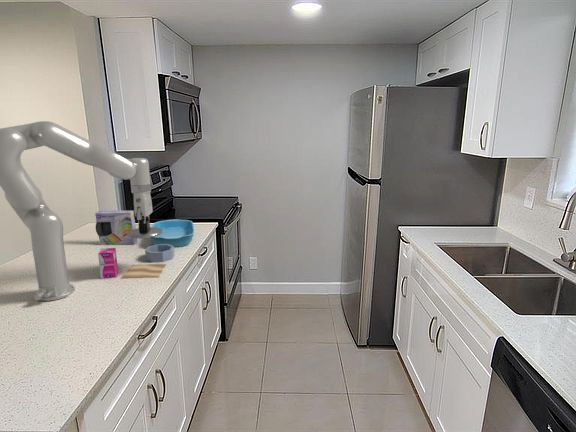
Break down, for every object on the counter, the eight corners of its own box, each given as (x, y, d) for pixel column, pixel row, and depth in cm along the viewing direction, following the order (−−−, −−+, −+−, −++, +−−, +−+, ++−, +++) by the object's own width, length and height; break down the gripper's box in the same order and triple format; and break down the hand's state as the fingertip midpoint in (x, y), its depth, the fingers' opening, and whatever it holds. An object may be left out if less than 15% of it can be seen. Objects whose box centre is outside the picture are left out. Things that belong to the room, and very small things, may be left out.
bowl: (171, 262, 168) (170, 252, 166) (143, 263, 166) (142, 252, 165) (175, 253, 179) (175, 244, 178) (150, 254, 178) (149, 244, 177)
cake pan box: (97, 245, 190) (93, 212, 186) (101, 242, 195) (97, 209, 191) (134, 245, 191) (131, 212, 186) (138, 242, 196) (135, 210, 191)
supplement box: (100, 279, 148) (97, 253, 145) (103, 274, 154) (100, 248, 151) (116, 278, 150) (113, 252, 147) (118, 273, 155) (115, 247, 152)
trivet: (158, 278, 150) (158, 277, 150) (120, 279, 149) (120, 278, 149) (166, 264, 165) (166, 263, 165) (131, 265, 163) (131, 264, 163)
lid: (157, 238, 149) (156, 225, 148) (122, 238, 148) (121, 226, 147) (165, 228, 163) (164, 217, 162) (133, 229, 162) (132, 217, 160)
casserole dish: (195, 248, 187) (195, 235, 186) (149, 252, 181) (148, 238, 180) (193, 229, 222) (192, 218, 220) (154, 231, 216) (153, 220, 214)
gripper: (144, 192, 143) (148, 236, 148) (155, 185, 159) (158, 225, 164) (124, 192, 143) (129, 237, 147) (137, 185, 158) (141, 226, 163)
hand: (144, 230), depth 155 cm, fingers closed on lid, 3 cm apart
